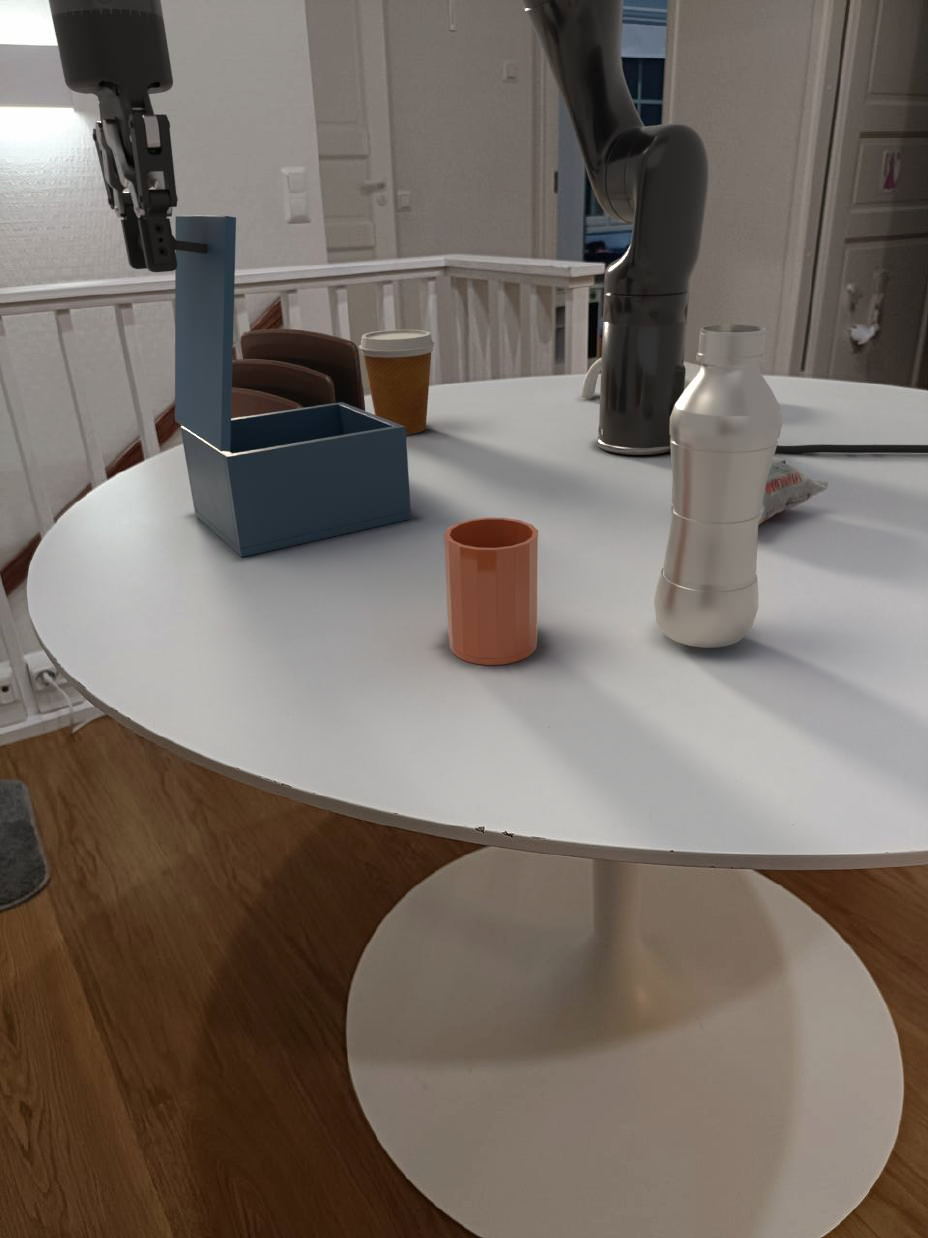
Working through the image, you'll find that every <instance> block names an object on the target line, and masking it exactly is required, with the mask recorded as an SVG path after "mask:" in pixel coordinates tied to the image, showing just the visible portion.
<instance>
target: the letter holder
mask: <svg viewBox="0 0 928 1238" xmlns="http://www.w3.org/2000/svg"><path fill="white" fill-rule="evenodd" d="M239 338H240V339H239V344H240V345H239V346H240V350H241V356H242V358H239V359H238V358H237V359H233V362H232V402H231V419H232V418H239V417H245V416H252V415H259V414H266V413H272V412H279V411H286V410H292V409H299V408H306V407H312V406H319V405H326V404H332V403H339V402H343V403H346V404H348V405H351V406H353V407H356V408H358V409H361V410H364V411H366V402H365V401H366V400H365V393H364V385H363V377H362V369H361V358H360V351H359V347H358V345H356V343H355V342H353V341H351V340H349V339H346V338H342V337H339V336H336V335H331V334H327V333H322V332H317V331H310V330H303V329H295V328H263V329H253V330H248V331H244V332H242V334H241V335H240V337H239Z"/></svg>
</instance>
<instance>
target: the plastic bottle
mask: <svg viewBox="0 0 928 1238" xmlns="http://www.w3.org/2000/svg"><path fill="white" fill-rule="evenodd" d="M767 334H768V333H767V328H766V327H765V326H762V325H753V324H740V323H739V324H737V323H735V324H733V323H732V324H730V323H729V324H727V323H726V324H725V323H724V324H711V325H706V326H702V327H701V328H700V331H699V338H698V339H699V340H698V351H696V357H695V358H696V359H695V360H696V362H698V363H700V366H701V368H700V372H699V373H698V374H697V375H696V376H695V378H694V379H693V380H692V381H691V383H690V384H689V385H688V386H687V387H686V389H685V390H684V392H683V393H682V394H681V396H680V397H679V399H678V400H677V402H676V403H675V406H674V408H673V411H672V414H671V416H670V436H671V437H670V447H671V452H670V462H671V475H672V476H671V477H672V480H671V481H672V482H671V485H672V486H671V503H672V506H671V512H670V513H671V514H670V515H671V516H670V517H671V518H670V526H669V532H668V537H667V543H666V548H665V549H666V551H665V554H664V560H663V567H662V569H661V570H660V574H659V576H658V580H657V584H656V589H655V593H654V597H653V606H654V614H655V620H656V623H657V625H658V627H659V628H660V630H661V632H662V634H664V635H665V637H667V638H669V639H670V640H672V641H674V642H676V643H677V644H679V643H680V644H682V645H685V646H689V647H695V648H706V649H714V648H715V649H716V648H723V647H728V646H732V645H734V644H737V643H738V642H740V641H741V640H742V639H743V638H744V637H745V636H746V635H747V634H748V633H749V632H750V631H751V630H752V628H753V626H754V623H755V619H756V616H757V613H758V611H759V582H758V575H757V561H758V558H757V557H758V539H759V538H758V537H759V525H760V524H759V519H760V514H761V512H760V508H761V506H762V503H763V498H764V492H765V487H766V482H767V478H768V475H769V471H770V468H771V464H772V461H773V459H774V457H775V455H776V453H775V450H776V447H777V445H778V443H779V441H778V440H779V439H780V436H781V432H782V427H783V416H782V411H781V405H780V403H779V401H778V399H777V397H776V396H775V394H774V392H773V390H772V388H771V387H770V384H768V381H766V379H765V377H764V375H762V372H761V367H760V364H763V363H766V360H767V352H766V341H767Z"/></svg>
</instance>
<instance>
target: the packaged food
mask: <svg viewBox="0 0 928 1238" xmlns="http://www.w3.org/2000/svg"><path fill="white" fill-rule="evenodd" d="M786 462H787V461H786V459H785V460H784V459H774V458H773V461H772V464H771V468H770V471H769V475H768V478H767V482H766V487H765V492H764V498H763V503H762V506H761V508H760V512H761V514H760V519H759V525H761V524H762V523H764V522H766V521H767V520H769V519H771V518H772V517H775V516H778V515H781V514H782V513H783V514H784V512H786V511H788V510H790V509H791V508H793V507H796V506H799V505H801V504H804V503H806V502H808V501H810V499H812V498H813V497H814V496H817V495H818V494H820V493H823V492H824V491H825V490H827V488H828V486H829V481H827V480H823V479H813V478H811V477H809V476H808V475H805V474H804V473H803V472H802V471H799V470H798V469H796V468H794V467H792V466H791V465H789V464H787V463H786Z"/></svg>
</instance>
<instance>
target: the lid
mask: <svg viewBox="0 0 928 1238" xmlns="http://www.w3.org/2000/svg"><path fill="white" fill-rule="evenodd" d="M172 236H173V242H174V248H175V254H176V260H177V268H176V269H175V270H174V272H175V275H174V277H175V279H174V283H175V284H174V286H175V287H174V289H175V290H174V294H175V295H174V304H175V305H174V308H175V310H174V329H175V330H174V341H175V342H174V422H176V423H177V424H179V425H180V426H183V427H185V428H186V429H188V430H189V431H191V432H192V433H194V434H195V435H197V436H198V437H200V438H201V439H203V440H204V441H206V442H208V443H209V444H211V445H212V446H214V447H215V448H217V449H218V450H220V451H230V442H231V402H232V362H233V360H234V322H235V321H234V318H235V317H234V315H235V281H236V279H235V277H236V242H237V241H236V239H237V217H236V216H231V215H175V236H174V234H172ZM137 243H138V246H139V248H140V249H141V250H142V251H143V246H142V241H141V235H140V233H139V235H138V237H137Z"/></svg>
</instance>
